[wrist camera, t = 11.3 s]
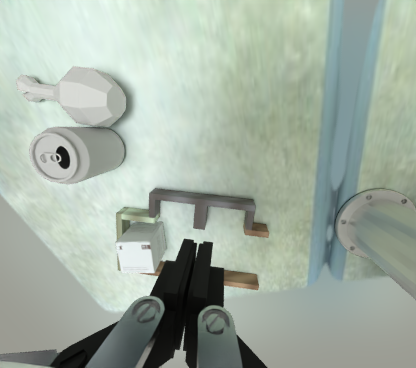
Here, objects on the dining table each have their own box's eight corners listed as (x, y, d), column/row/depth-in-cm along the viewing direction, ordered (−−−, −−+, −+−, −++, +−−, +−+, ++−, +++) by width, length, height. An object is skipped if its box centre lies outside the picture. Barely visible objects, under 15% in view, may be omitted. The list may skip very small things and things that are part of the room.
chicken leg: (36, 56, 34) (-21, 64, 28) (128, 65, 30) (84, 75, 24) (58, 107, 39) (13, 123, 33) (138, 120, 35) (105, 141, 29)
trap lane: (270, 201, 36) (273, 208, 33) (255, 278, 41) (258, 290, 38) (123, 184, 38) (115, 189, 35) (125, 260, 42) (117, 270, 39)
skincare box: (138, 249, 41) (120, 274, 34) (133, 222, 40) (113, 242, 33) (167, 248, 41) (155, 274, 34) (163, 221, 39) (149, 241, 32)
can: (129, 169, 37) (85, 188, 25) (90, 169, 38) (30, 187, 26) (124, 127, 35) (74, 126, 24) (83, 127, 36) (15, 127, 24)
